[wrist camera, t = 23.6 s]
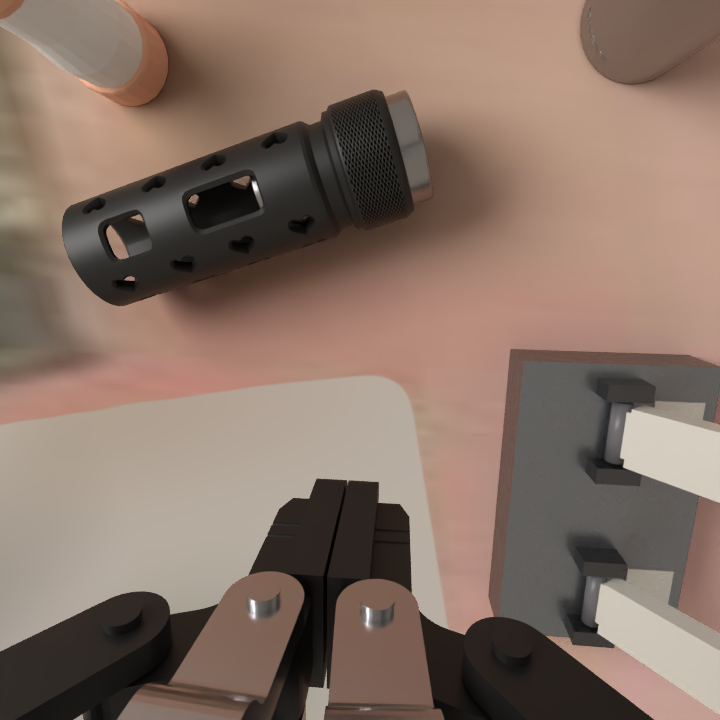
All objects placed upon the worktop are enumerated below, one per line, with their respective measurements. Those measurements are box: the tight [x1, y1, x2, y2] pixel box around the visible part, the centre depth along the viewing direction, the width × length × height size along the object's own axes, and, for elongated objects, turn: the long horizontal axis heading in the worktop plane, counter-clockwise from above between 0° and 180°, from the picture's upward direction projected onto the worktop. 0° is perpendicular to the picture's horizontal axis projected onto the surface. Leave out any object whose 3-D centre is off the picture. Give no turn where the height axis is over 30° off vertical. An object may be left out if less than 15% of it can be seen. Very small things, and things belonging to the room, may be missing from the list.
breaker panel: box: [489, 349, 720, 648], centre depth 44 cm, size 16×27×7 cm, turn 179°
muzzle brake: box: [62, 90, 433, 306], centre depth 39 cm, size 10×28×10 cm, turn 107°
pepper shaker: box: [0, 0, 168, 106], centre depth 33 cm, size 7×7×19 cm
